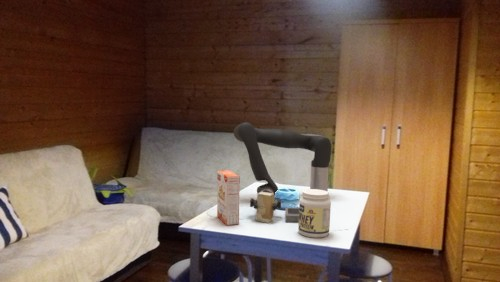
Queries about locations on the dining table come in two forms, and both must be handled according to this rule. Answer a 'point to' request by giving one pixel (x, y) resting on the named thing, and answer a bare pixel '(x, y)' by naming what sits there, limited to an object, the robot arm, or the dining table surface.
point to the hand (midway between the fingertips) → (265, 207)
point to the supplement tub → (314, 213)
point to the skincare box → (265, 207)
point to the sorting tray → (292, 215)
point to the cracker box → (228, 197)
